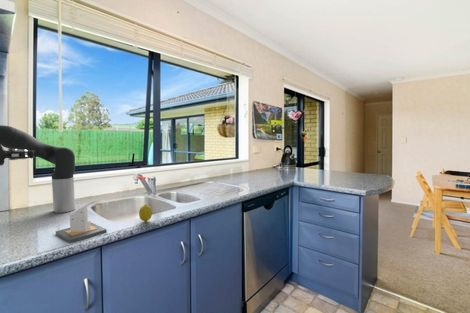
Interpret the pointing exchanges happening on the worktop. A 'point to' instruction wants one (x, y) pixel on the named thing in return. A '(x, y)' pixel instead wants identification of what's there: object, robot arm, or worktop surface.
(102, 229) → the mounting plate
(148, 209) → the lemon
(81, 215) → the white wedge bracket
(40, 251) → the worktop surface
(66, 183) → the robot arm
